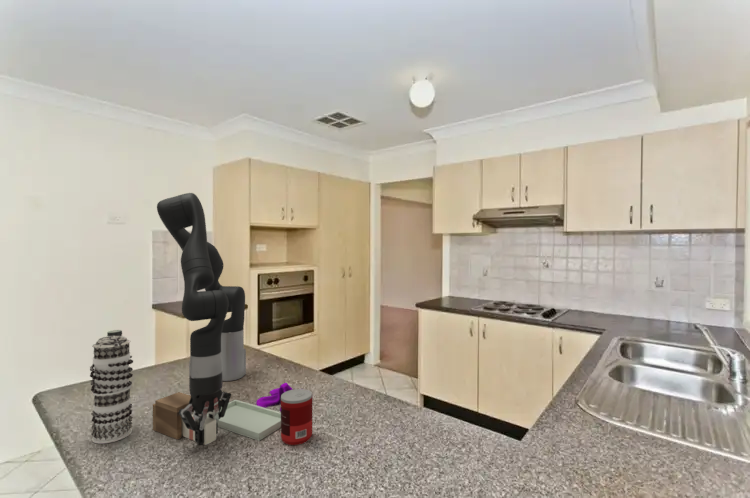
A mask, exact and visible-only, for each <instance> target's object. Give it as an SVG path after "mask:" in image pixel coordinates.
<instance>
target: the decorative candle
mask: <svg viewBox="0 0 750 498" xmlns="http://www.w3.org/2000/svg"><path fill="white" fill-rule="evenodd" d="M130 343H131V340H129V339H127V337H126V336H124V335H122V336H120V335H118V336H107V335H106V336H103V337H101V338H98V340H97V341H96V342H95V344H92V345H91V346H92V347H93V357H92V365H91V366H89V371H90V373H89V377H90V378H91V379H92V380H90V385H91V388H90V391H91V394H92V395H93V396H94V397H93V402H94V403H93V405H92V412H91V416H92V418H91V422H92V423H93V424H92V425H91V426H90V427H91V430H92V431H91V436H92V438H91V441H92V442H93V443H94V444H99V445H100V444H109V443H114V442H118V441H120V440H123V439H124V438H127V437H128V436H130V435H131V434H132V432H133V429H132V427H133V422H132V421H133V416H131V415H132V413H133V410H132V408H133V404H132V403H131V401H132V399H131V395H130V394H131V392H130V391H131V389H132V385H133V381H132V380H130V379H131V378H132V377H133V376H134V375H133V373H131V372H132V371H133V370H134V369H133V367H131V365H132V364H133V363H134V360H133V359H132V357H133V355H132V354H131V352H130Z"/></svg>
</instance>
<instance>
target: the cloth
mask: <svg viewBox="0 0 750 498" xmlns="http://www.w3.org/2000/svg"><path fill="white" fill-rule="evenodd" d="M289 390H293V388H292V387H291V386H290V385H289V383H287V382H284V383H281V385H280V386H279V387H278V388H273V389H271V390H270V391H269V392H268V393H269V394H270V395H268V396H262V397H259V398H258V399H257V400H256V402H255V403H256V404H255V405H257V406H260V407H264V408H269V407H274V406H275V407H276V406H279V405H280V408H279V412H281V395H282V394H283V393H284V392H287V391H289ZM312 400H313V397H312Z"/></svg>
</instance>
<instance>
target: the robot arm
mask: <svg viewBox="0 0 750 498" xmlns="http://www.w3.org/2000/svg"><path fill="white" fill-rule="evenodd" d="M156 210H157V211H156V212H157V214H158V216H159V219H160V220H161V222H162V223H163V225H164V226H165V227H164V228H166V229H167V231H168V232H169V233H170V235H171V237H173V239H174V240H175V242H176V243H177V244H178V246H179V247H180V249H181V251H182V252H181V257H180V267H181V270H182V272H181V273H182V276H183V277H182V278H183V281H184V287H183V288H184V289H183V290H184V291H183V298H182V303H181V313H182V316H183V317H184V318H185V319H186V320H188V321H190V322H195V321H196V322H197V321H204V320H209V322H208V323H207V324H206V325H205V326H202V327H200V328H198V329H195V330H193V331H192V332H191V333H190V336H189V352H190V354H189V355H190V356H189V362H188V363H189V365H188V369H189V370H188V371H189V372H188V375H189V378H188V379H189V380H188V382H189V384H188V385H189V386H188V389H189V394H190V396H191V398H190V401H189V405H188V406H187V407H185V408H184V409H180V410H179V414H180V416H181V418H182V420H183V422H184V424H185V425H186V427H187V428H188V429H191V430H193V431H195V441H194V442H195V443H196V444H198V445H200V446H202V445H204V423H205V420H206V418H207V414H208V417H209V418H212V419H215V420H216V435H218V429H219V427H218V421H219V419H220V418H221V417H224V415H225V412H226V409H227V406H228V403H229V402H230V399H231V396H232V394H231V393H230V392H228V391H223V390H222V388H223V382H229V381H230V382H231V381H236V380H239V379H241V378H244V376H245V375H247V350H246V348H244V343H245V341H244V340H245V339H244V325H245V324H244V323H245V307H246V293H245V289H244V288H243V287H241V286H238V285H237V286H232V285H230V286H229V285H227V286H226V285H222V284H220V282H219V279H220V277H221V276H222V274H223V272H224V271H223V270H224V261H223V258H222V257H221V255H220V253H219V251H218V249H217V248H216V246H215V245H213V243H210V242H209V241H208V235H207V234H208V233H207V225H206V224H207V223H206V215H205V210H204V208H203V205H202V203H201V200H200V198H199V197H198V196H197V194H195V193H194V192H187V193H182V194H178V195H174V196H172V197H168V198H165V199H162V200H160V201H159V202H157V204H156ZM189 227H192V228H191V232H189V231H188V230H187V229H186V228H189ZM201 290H202V291H201ZM228 312H229V313H231V314H230V317H229V318H227V319H226V317H227V314H228ZM221 407H222V409H221ZM192 409H193V410H194V414H193V413H192ZM220 410H221V412H220ZM192 414H193V417H192ZM200 414H201V415H200ZM193 418H194V419H193Z"/></svg>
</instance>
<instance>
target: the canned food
mask: <svg viewBox="0 0 750 498" xmlns="http://www.w3.org/2000/svg"><path fill="white" fill-rule="evenodd" d="M292 389H293V388H292ZM312 398H313V392H312V391H311V390H309V389H306V388H305V389H304V388H294V389H293V390H289V391H287V392H284V393H283V394H282V395H281V404H280V407H281V411H280V412H281V428H280V438H281V441H282V442H283V443H284V444H286V445H289V446H297V445H302V444H304V443H307V442H308V441H309V440H310V439H312V435H313V399H312Z"/></svg>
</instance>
